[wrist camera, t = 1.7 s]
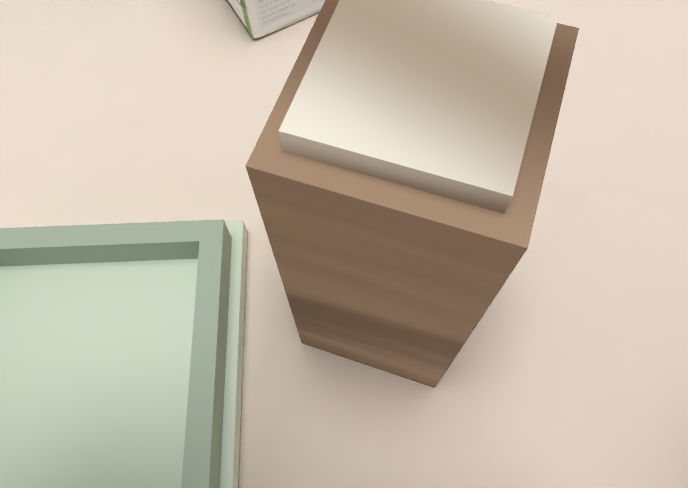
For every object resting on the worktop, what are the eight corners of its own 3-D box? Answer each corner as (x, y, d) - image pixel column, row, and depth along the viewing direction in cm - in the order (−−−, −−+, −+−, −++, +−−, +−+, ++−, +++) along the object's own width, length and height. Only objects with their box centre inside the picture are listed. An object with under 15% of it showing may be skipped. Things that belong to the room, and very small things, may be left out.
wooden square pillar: (434, 387, 20) (538, 232, 9) (301, 342, 21) (239, 146, 10) (469, 262, 22) (590, 4, 11) (346, 226, 23) (338, -53, 12)
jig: (236, 544, 18) (219, 549, 16) (-91, 556, 18) (-154, 563, 16) (247, 232, 23) (235, 201, 21) (-15, 242, 23) (-56, 213, 21)
